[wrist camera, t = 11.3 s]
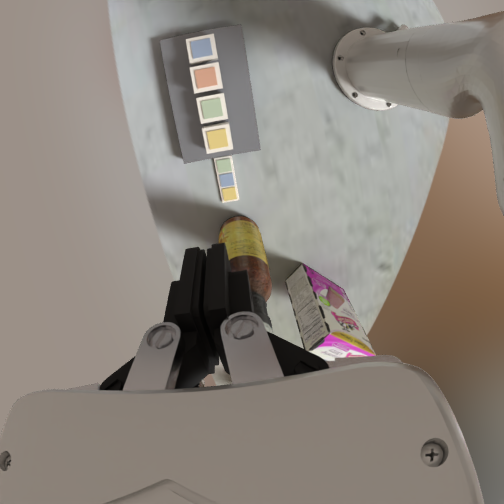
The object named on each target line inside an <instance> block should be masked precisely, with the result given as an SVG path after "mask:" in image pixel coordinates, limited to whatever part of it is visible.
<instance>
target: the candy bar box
mask: <svg viewBox="0 0 504 504" xmlns="http://www.w3.org/2000/svg"><path fill="white" fill-rule="evenodd" d="M285 283H286V286H287V290H288V293H289V296H290V300H291V303H292V307H293V311H294V315H295V318H296V322H297V325H298V329H299V332H300V336H301V339H302V343H303V347H304V349H305V350H307V351H309V352H311V353H313V354H315V355H317V356H319V357H321V358H323V359H324V360H325V361H335V358H345V357H365V356H375V352H374V350H373V348H372V346H371V344H370V342H369V340H368V338H367V335H366V333H365V331H364V329H363V327H362V325H361V323H360V321H359V319H358V317H357V315H356V313H355V311H354V309H353V307H352V305H351V303H350V301H349V299H348V297H347V295H346V293H345V291H344V289H342V288H341V287H339V286H337V285H336V284H334V283H333V282H331V281H330V280H328V279H326V278H325V277H323V276H322V275H320V274H319V273H317V272H315V271H314V270H312V269H311V268H309V267H308V266H306V265H305V264H303V263H302V264H301V265H300V266H299V267H298V268H297V270H296V271H295V272H294V273H293V274H292V275H291V276H290V277H289V278H288V279H287V280H286V281H285Z"/></svg>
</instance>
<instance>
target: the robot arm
mask: <svg viewBox="0 0 504 504" xmlns="http://www.w3.org/2000/svg"><path fill="white" fill-rule="evenodd" d="M360 32H361V34H362V35H361V34H360ZM338 57H339V58H340V60H338ZM332 64H333V72H334V75H335V78H336V81H337V83H338V85H339V87H340V88H341V90H342V91H343V92H344V94H345V95H346V96H347V97H348V98H349V99H350V100H351V101H353V102H354V103H356V104H357V105H359V106H361V107H364V108H367V109H370V110H376V111H383V110H389V109H392V108H394V107H396V106H398V105H403V106H407V107H411V108H415V109H419V110H423V111H427V112H431V113H435V114H438V115H442V116H446V117H449V118H456V119H462V118H467V117H471V116H473V115H475V114H477V113H479V112H480V111H482V110H483V111H484V114H485V118H486V122H487V127H488V131H489V135H490V141H491V148H492V155H493V164H494V173H495V182H496V192H497V198H498V203H499V206H500V209H501V211H502V213H503V215H504V11H501V12H497V13H493V14H489V15H485V16H481V17H477V18H473V19H468V20H464V21H459V22H452V23H444V24H437V25H429V26H423V27H416V28H410V29H409V28H408V27H407V26H405V25H401V26H400V27H399V29H398V30H397V31H393V32H388V33H387V32H385V31H382V30H379V29H376V28H370V27H367V28H359V29H355V30H353V31H350V32H349V33H347V34H346V35H344V36H343V37H342V38H341V39H340V40H339V42H338V44H337V45H336V47H335V50H334V54H333V63H332ZM352 93H353V94H354V95H353V96H352ZM386 103H387V105H386ZM219 357H220V360H221V362H222V364H223V366H224V369H225V372H227V373H228V374H230V375H231V379H232V383H233V384H229V385H220V386H211V387H204V383H205V382H204V378H205V377H206V376H207V375H208V374H213V373H215V365H219ZM422 446H423V447H422ZM0 504H484V501H483V497H482V493H481V489H480V485H479V481H478V477H477V474H476V471H475V468H474V465H473V462H472V459H471V456H470V453H469V450H468V448H467V445H466V442H465V440H464V437H463V434H462V432H461V429H460V427H459V425H458V423H457V420H456V418H455V416H454V414H453V412H452V410H451V408H450V406H449V404H448V402H447V400H446V399H445V397H444V395H443V393H442V392H441V390H440V389H439V387H438V385H437V384H436V383H435V381H434V380H433V379H432V378H431V377H430V376H429V375H428V374H427V373H426V372H425V371H423V370H422V369H420V368H418V367H416V366H413V365H409V364H404V363H403V362H402V361H400V359H399V358H397V357H394V356H391V355H380V356H365V357H345V358H335V361H325V360H324V359H323V358H321V357H319V356H317V355H315V354H313V353H311V352H309V351H307V350H305V349H303V348H300V347H298V346H296V345H294V344H292V343H290V342H288V341H286V340H284V339H282V338H280V337H278V336H276V335H274V334H272V333H270V332H268V331H266V329H265V326H264V323H263V321H262V319H261V318H260V317H259V316H258V315H257V314H255V313H254V307H253V299H252V293H251V287H250V282H249V276H248V271H247V270H242V271H236V272H232V271H231V267H230V262H229V258H228V253H227V249H226V245H225V242H224V243H218V244H213V245H212V248H209V249H207V257H206V253H205V250H204V249H203V250H200V248H199V247H195V248H189V249H186V250H185V255H184V260H183V265H182V270H181V276H180V280H179V281H173V282H172V283H171V287H170V291H169V296H168V301H167V306H166V311H165V317H164V321H163V322H162V323H159V324H156V325H154V326H153V327H151V328H150V329H149V330H147V331H146V333H145V335H144V336H143V339H142V341H141V344H140V346H139V349H138V351H137V354H136V356H135V357H134V358H132V359H131V360H130V361H129V362H127V363H126V364H125V365H123V366H122V367H121V368H120V369H118V370H117V371H116V372H114V373H113V374H112V375H111V376H109V377H108V378H107V379H106V380H105V381H104V382H103V383H102V384H101V385H99V384H98V383H96V384H91V385H86V386H81V387H76V388H71V389H51V390H42V391H36V392H32V393H30V394H27V395H25V396H23V397H21V398H20V399H18V400H17V401H16V402H15V403H14V404H13V406H12V408H11V410H10V412H9V414H8V417H7V419H6V421H5V424H4V427H3V430H2V433H1V436H0Z"/></svg>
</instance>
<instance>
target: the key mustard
mask: <svg viewBox="0 0 504 504" xmlns="http://www.w3.org/2000/svg"><path fill="white" fill-rule="evenodd" d="M202 132H203V137H204V142H205V147H206V152H207V154H209V153H215V152H220V151H226V150H232V149H233V143H232V138H231V132H230V126H229V122H225V123H219V124H214V125H209V126H203V128H202Z"/></svg>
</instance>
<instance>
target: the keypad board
mask: <svg viewBox="0 0 504 504" xmlns="http://www.w3.org/2000/svg"><path fill="white" fill-rule="evenodd" d="M209 34H214V38H215V43H216V49H217V55H218V60H214V61H209V62H203V63H198V64H194V65H191V64H190V62H189V56H188V50H187V44H186V39H189V38H194V37H199V36H204V35H209ZM160 46H161V52H162V57H163V63H164V68H165V74H166V79H167V85H168V90H169V95H170V100H171V105H172V110H173V115H174V120H175V124H176V129H177V134H178V138H179V143H180V148H181V152H182V157H183V161H184V164H186V163H190V162H195V161H200V160H205V159H211V158H216V157H221V156H227V155H233V154H239V153H245V152H251V151H258V150H261V149H260V142H259V135H258V128H257V121H256V114H255V108H254V101H253V94H252V88H251V81H250V75H249V69H248V63H247V56H246V50H245V44H244V38H243V32H242V26H241V25H234V26H227V27H220V28H214V29H209V30H203V31H198V32H193V33H189V34H184V35H180V36H176V37H171V38H168V39H164V40H160ZM216 62H219V67H220V73H221V79H222V85H223V88H222V89H216V90H211V91H205V92H200V93H195V94H194V89H193V84H192V78H191V73H190V67H195V66H200V65H205V64H210V63H216ZM220 93H224V97H225V102H226V108H227V114H228V119H225V120H219V121H214V122H208V123H203V124H201V121H200V116H199V111H198V106H197V100H196V98H199V97H204V96H209V95H215V94H220ZM225 122H229V126H230V132H231V138H232V143H233V149H232V150H226V151H220V152H215V153H209V154H207V152H206V147H205V142H204V137H203V132H202V128H203V126H209V125H214V124H219V123H225Z"/></svg>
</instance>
